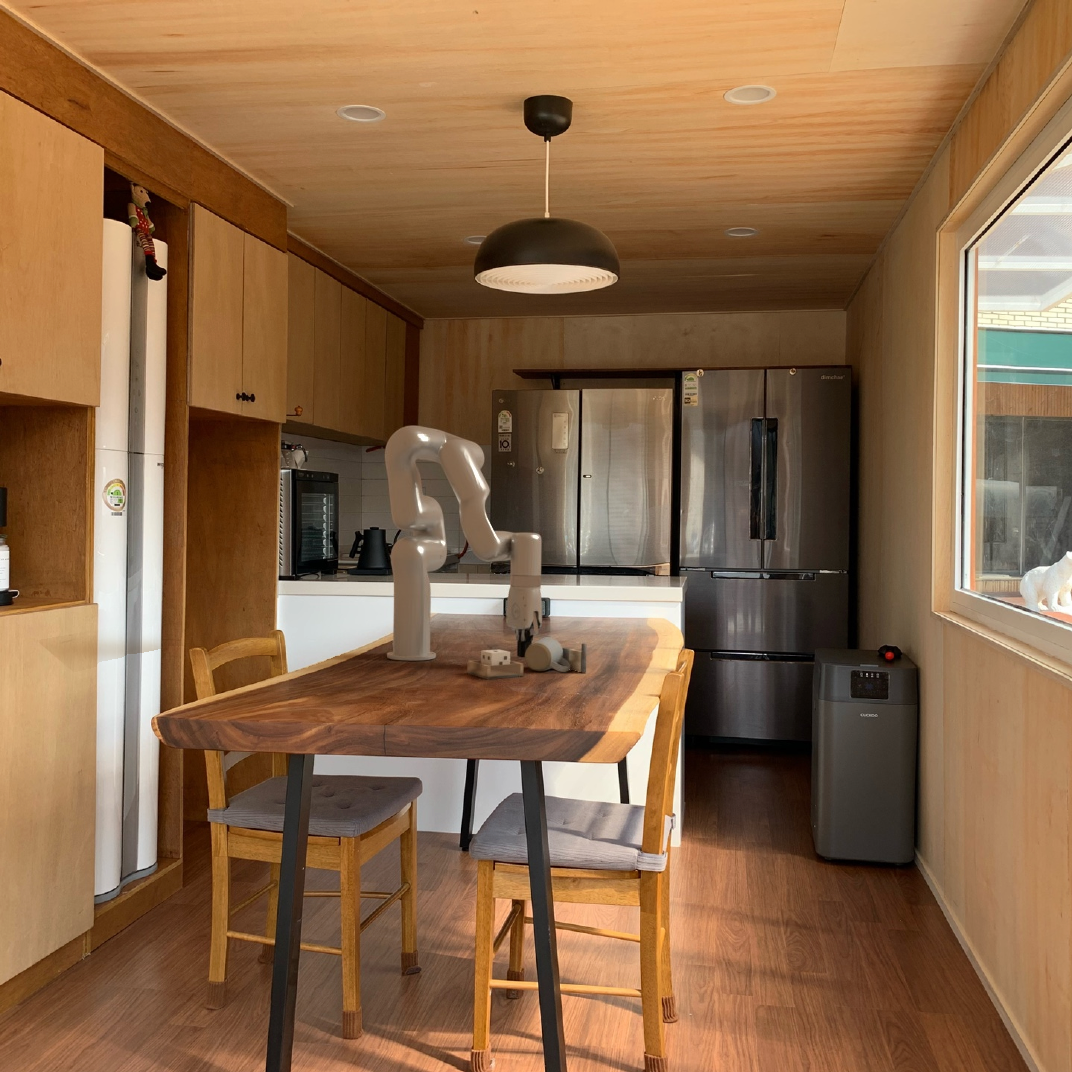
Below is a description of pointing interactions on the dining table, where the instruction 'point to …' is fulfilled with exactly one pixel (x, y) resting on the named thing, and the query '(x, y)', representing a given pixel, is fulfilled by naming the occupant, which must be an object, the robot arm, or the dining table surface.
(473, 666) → the felt tray
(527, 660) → the ceramic mug
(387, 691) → the dining table surface
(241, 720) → the dining table surface
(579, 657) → the scoring rail
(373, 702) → the dining table surface
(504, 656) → the die
